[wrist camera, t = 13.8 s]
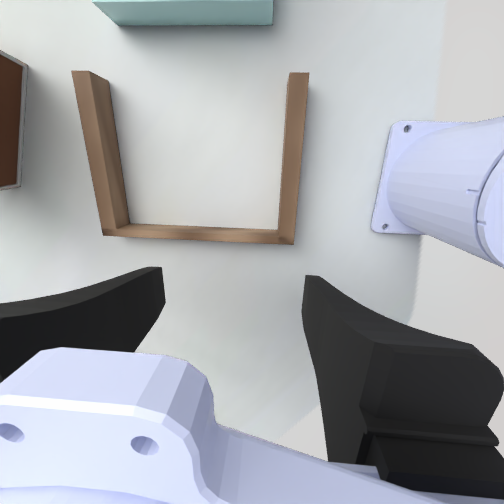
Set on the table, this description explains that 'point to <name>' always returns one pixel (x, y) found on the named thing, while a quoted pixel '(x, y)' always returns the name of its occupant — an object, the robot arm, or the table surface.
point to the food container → (11, 119)
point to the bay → (117, 224)
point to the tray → (187, 12)
